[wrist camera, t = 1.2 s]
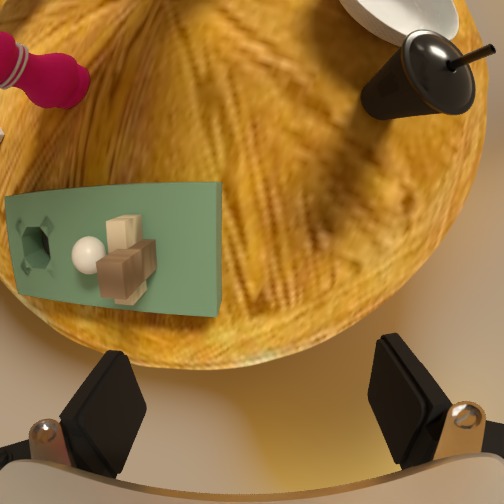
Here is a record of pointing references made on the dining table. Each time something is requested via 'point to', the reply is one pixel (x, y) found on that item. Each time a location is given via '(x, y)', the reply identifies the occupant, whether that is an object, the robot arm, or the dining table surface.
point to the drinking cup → (423, 79)
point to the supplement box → (1, 134)
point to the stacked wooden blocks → (126, 260)
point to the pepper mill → (42, 75)
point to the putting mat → (94, 224)
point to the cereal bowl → (404, 17)
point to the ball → (87, 254)
